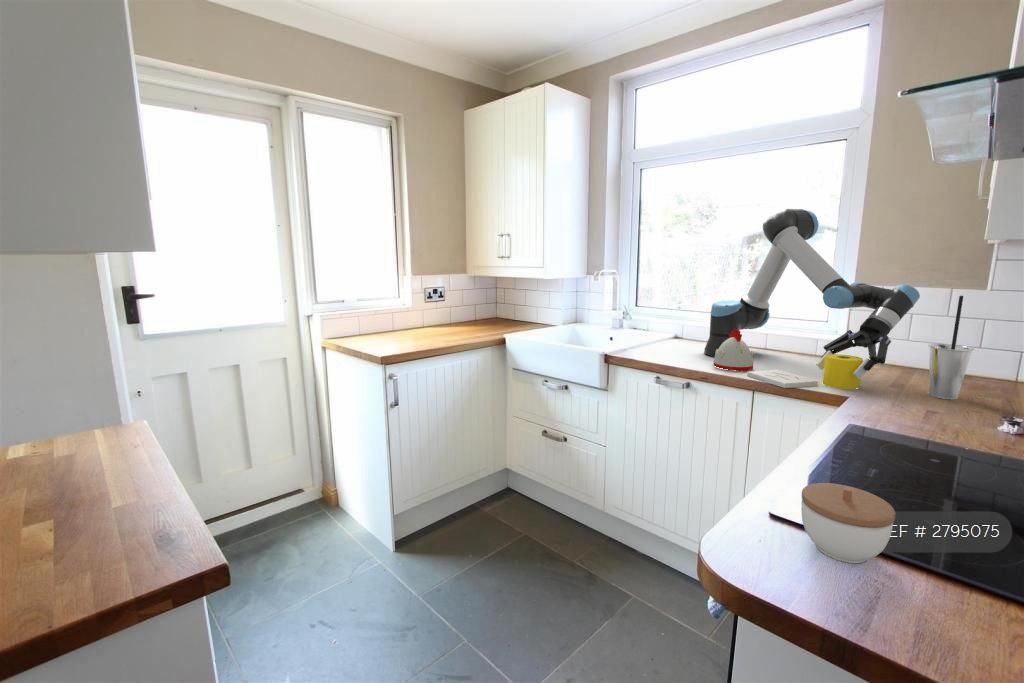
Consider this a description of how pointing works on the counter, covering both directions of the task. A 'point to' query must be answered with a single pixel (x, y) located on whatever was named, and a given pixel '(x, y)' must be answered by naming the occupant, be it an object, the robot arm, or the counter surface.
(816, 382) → the marked board
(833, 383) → the tape roll
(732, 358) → the kitchen timer
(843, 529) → the lidded jar
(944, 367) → the cup with straw
